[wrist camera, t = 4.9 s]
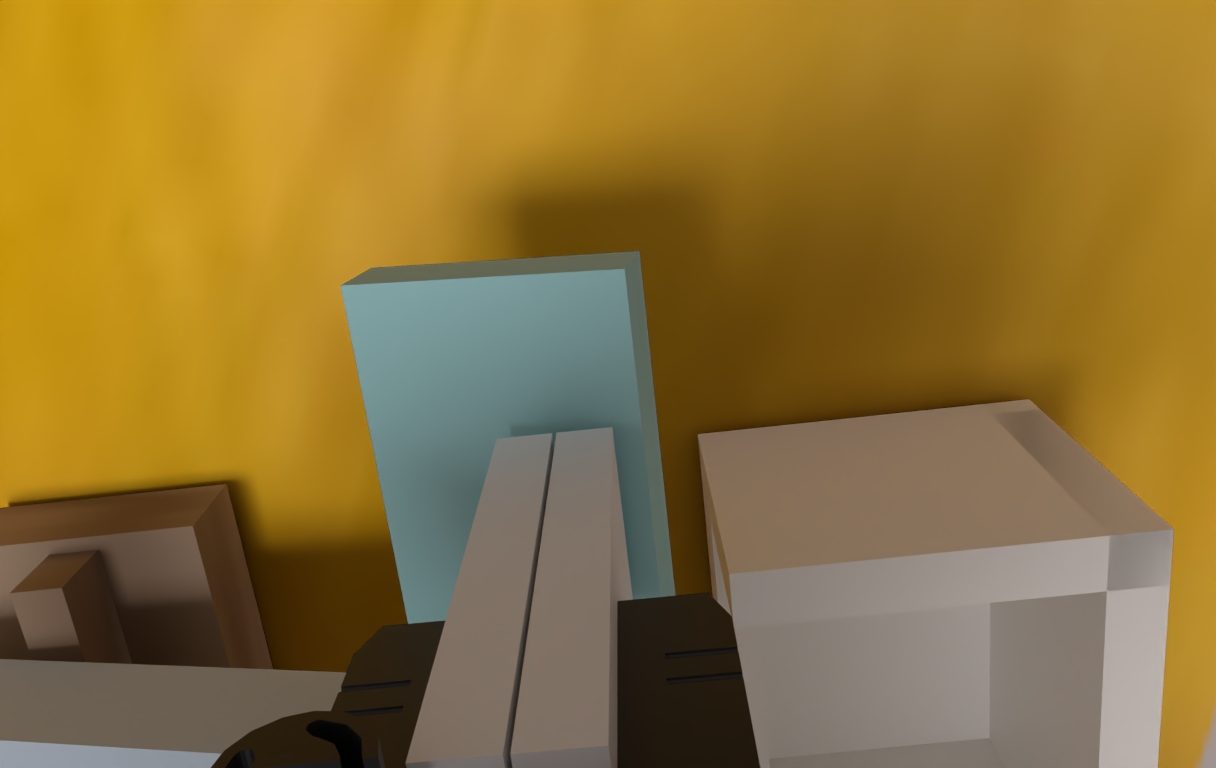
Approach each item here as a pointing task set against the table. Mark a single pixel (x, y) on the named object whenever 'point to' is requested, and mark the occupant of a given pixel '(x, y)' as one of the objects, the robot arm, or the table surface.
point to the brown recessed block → (129, 582)
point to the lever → (400, 487)
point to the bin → (938, 592)
